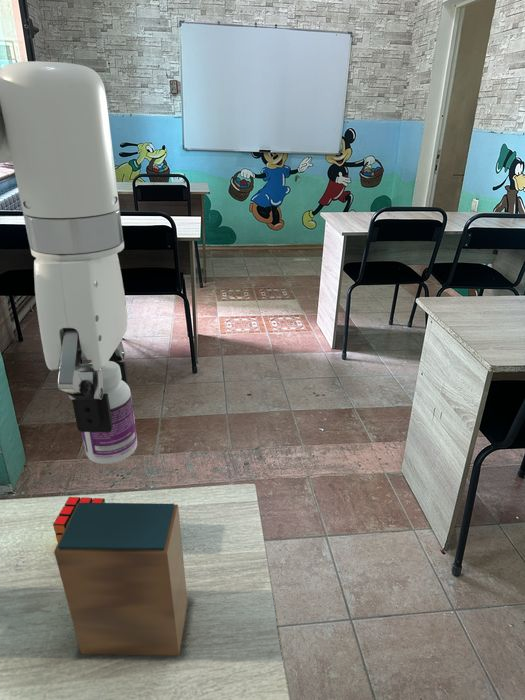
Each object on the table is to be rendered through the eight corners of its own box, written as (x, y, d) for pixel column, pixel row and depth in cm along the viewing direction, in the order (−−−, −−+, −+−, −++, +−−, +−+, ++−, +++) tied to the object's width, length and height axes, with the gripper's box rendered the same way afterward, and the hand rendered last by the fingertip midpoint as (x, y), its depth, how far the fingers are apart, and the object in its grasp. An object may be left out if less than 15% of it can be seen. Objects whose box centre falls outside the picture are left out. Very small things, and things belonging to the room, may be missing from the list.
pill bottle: (148, 441, 52) (139, 363, 48) (115, 471, 47) (102, 388, 43) (108, 429, 54) (96, 352, 50) (74, 457, 49) (57, 375, 45)
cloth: (58, 549, 51) (57, 546, 51) (79, 504, 57) (79, 502, 56) (163, 550, 51) (163, 547, 51) (174, 506, 57) (174, 503, 56)
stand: (81, 655, 59) (53, 551, 51) (99, 603, 65) (77, 503, 57) (179, 656, 59) (167, 552, 51) (187, 604, 65) (178, 504, 57)
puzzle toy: (96, 554, 72) (90, 526, 70) (59, 552, 72) (52, 524, 70) (109, 525, 77) (104, 498, 75) (75, 523, 77) (69, 496, 75)
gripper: (68, 213, 48) (95, 371, 56) (-23, 260, 33) (31, 468, 41) (143, 213, 48) (159, 371, 56) (87, 261, 33) (119, 469, 41)
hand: (105, 410), depth 48 cm, fingers closed on pill bottle, 5 cm apart
